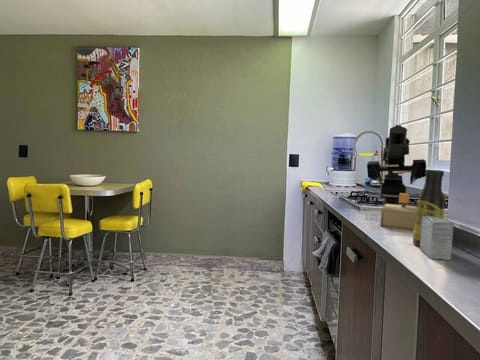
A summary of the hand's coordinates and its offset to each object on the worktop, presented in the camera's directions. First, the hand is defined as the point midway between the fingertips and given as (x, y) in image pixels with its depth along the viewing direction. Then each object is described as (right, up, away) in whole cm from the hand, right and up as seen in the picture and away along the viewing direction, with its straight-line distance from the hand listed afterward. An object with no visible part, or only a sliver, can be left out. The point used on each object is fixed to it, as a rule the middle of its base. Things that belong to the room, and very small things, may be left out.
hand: (395, 183), depth 116 cm
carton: (+3, -14, +1) cm, 14 cm away
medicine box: (-6, -17, -34) cm, 38 cm away
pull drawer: (+5, -9, +4) cm, 11 cm away
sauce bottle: (-4, -16, -26) cm, 31 cm away
